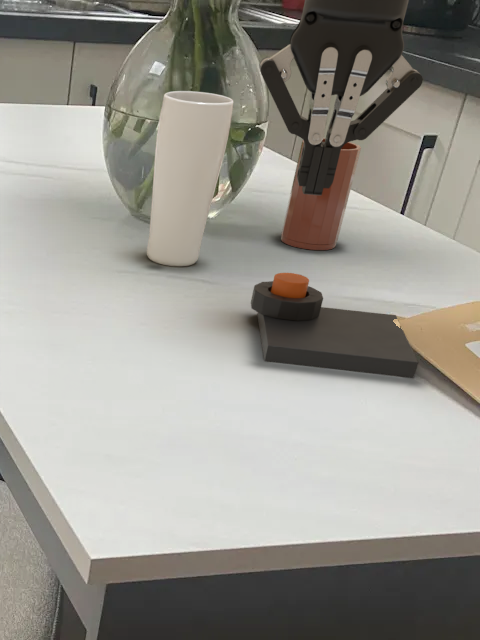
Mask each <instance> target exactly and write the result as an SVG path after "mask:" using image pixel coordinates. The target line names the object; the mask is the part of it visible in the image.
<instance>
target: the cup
mask: <svg viewBox="0 0 480 640" xmlns="http://www.w3.org/2000/svg"><path fill="white" fill-rule="evenodd" d="M325 139H326V137H324V138H323V140H322V142H325ZM303 145H304V140H303V139H302V141H301V145H300V150H299V153H298V158H297V163H296V167H295V171H294V172H295V173H294V176H293V180H292V184H291V190H290V194H289V199H288V203H287V207H286V212H285V215H284V219H283V220H284V221H283V225H282V229H281V236H280V240H281V242H282V243H284V244H286V245H288V246H290V247H294V248H298V249H301V250H309V251H328V250H332V249H335V248H336V246H337V242H338V241H339V240H338V239H339V236H340V232H341V229H342V225H343V220H344V217H345V214H346V208H347V204H348V201H349V197H350V194H351V189H352V185H353V182H354V177H355V174H356V170H357V167H358V161H359V157H360V154H361V150H362V147H361V145H359V144H357V143H354V142H352V141H350V142H348V143H346V144H345V145H344V146H343V147H342V149H341V151H340V155H339V159H338V164H337V168H336V172H335V176H334V180H333V183H332V185H331V186H330V188H323V192H322V195H321V196H320V195H309V194H303V191H302V187H303V186H299V184H298V180H297V172H298V168H299V163H300V159H301V154H302V150H303Z"/></svg>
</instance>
